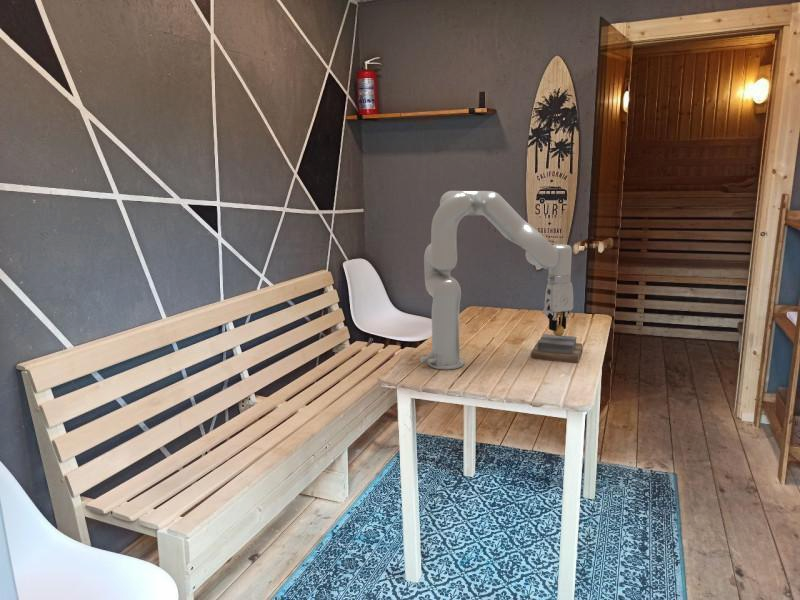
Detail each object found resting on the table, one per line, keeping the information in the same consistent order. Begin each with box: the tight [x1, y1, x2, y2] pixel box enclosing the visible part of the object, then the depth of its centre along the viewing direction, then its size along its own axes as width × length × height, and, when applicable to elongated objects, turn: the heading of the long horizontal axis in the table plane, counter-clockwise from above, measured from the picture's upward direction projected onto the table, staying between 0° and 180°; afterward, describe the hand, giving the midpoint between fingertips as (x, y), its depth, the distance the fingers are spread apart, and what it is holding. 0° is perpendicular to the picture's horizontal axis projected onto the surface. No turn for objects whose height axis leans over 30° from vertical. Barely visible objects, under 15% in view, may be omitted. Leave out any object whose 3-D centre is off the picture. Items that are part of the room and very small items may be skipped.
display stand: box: [530, 333, 583, 364], centre depth 205 cm, size 16×16×6 cm
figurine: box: [552, 310, 572, 336], centre depth 203 cm, size 8×6×12 cm
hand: (557, 328), depth 204 cm, fingers closed on figurine, 3 cm apart
